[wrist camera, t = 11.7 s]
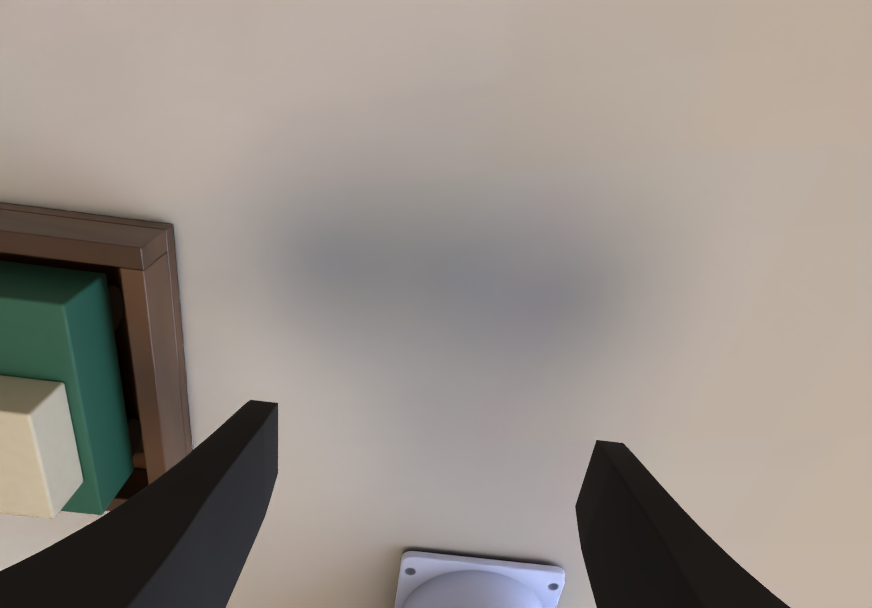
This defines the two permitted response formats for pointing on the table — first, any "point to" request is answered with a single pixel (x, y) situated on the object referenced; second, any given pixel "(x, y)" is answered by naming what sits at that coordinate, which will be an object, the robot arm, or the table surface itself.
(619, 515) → the robot arm
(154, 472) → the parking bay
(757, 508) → the table surface
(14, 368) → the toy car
